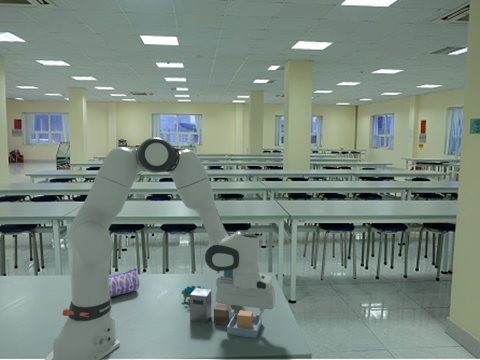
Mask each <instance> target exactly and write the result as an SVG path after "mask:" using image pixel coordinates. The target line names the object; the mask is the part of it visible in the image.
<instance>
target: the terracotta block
mask: <svg viewBox="0 0 480 360" xmlns="http://www.w3.org/2000/svg"><path fill="white" fill-rule="evenodd" d="M237 314H238V315H237V327H239V328H247V329H251V328H252V325H253V316H254V311H249V310H241V309H240V310H239V311H238V313H237Z"/></svg>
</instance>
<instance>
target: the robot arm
mask: <svg viewBox="0 0 480 360" xmlns="http://www.w3.org/2000/svg"><path fill="white" fill-rule="evenodd" d="M142 172H147V173H149V174H159V173H168V174H169V176H170V178H171V179H172V181H173V183H174V186H175V188H176V191H177V194H178V196H179V198H180V199H181V201H182V203H183V204H184V206H185V207H186V208H188V209H189V210H192V211H194V212H196V213H197V214H198V216H199V217H200V219H201V221H202V222H201V223H202V224H203V227H204V228H205V231H206V234H207V235H208V246H207V249H206V251H205V254H204V260H205V261H204V262H205V263H206V265H207V266H208V268H209V269H210V270H213V271H214V272H224V271H226V270H232V269H233V277H225V276H224V275H220V276H219V277H217V278H216V281H215V285H216V287H217V289H216V293H215V294H216V295H215V301H216V303H217V304H225V305H226V308H227V309H228V311H229V317H231V318H232V317H234V313H235V310H234V309H232V306H239V307H247V308H248V307H249V308H255V309H259V312H257V313H256V315H255V316H256V320H261V317H262V315H263V313H264V311H265V309H266V310H273V309H274V308H275V306H276V292H275V291H276V290H275V287H274V285H273V278H272V276H269V275H267V274H265V273H262V272H260V267H259V261H260V254H261V253H260V240H259V238H258V236H257V235H256V234H255V233H254V232H251V231H249V230H237V231H236V232H235V233H233V234H231V233H230V232H228V231H227V229H226V227H225V226H224V224H223V221H222V219H221V216H220V214H219V211H218V209H217V206H216V202H215V198H214V193H213V188H212V185H211V184H212V183H211V182H210V177H209V176H208V173H207V170H206V169H205V166H204V164H203V162H202V161H201V159H200V157H199V156H198V155H197V153H196V151H194V150H191V149H181V150H178V149H176V147H174V146H173V145H172V144H170V142H168V141H167V140H166V139H164V138H161V137H149V138H147V139H145V140H144V141H143V142H141V143H140V145H138V147H137V148H135V149H130V148H128V147H124V146H117V147H114V148H112V149H111V150H110V152H109V153H108V154H107V156H106V157H105V159H104V160H103V162H102V164H101V166H100V167H99V169H98V172H97V174H96V175H95V178H94V181H93V183H92V184H91V188H90V189H89V192H88V194H87V197H86V198H85V200H84V202H83V203H82V205H81V207H80V208H79V210H78V212H77V214H76V215H75V217H74V218H73V220H72V222H71V224H70V225H69V228H68V230H67V235H66V238H67V242H68V244H69V246H70V249H71V253H72V267H71V276H70V282H71V283H70V284H71V301H70V305H69V309H68V308H64V309H63V311H62V316H64V317H67V319H66V320H65V322H64V324H63V325H62V327H61V329H60V330H59V332H58V333H57V335H56V337H55V338H54V340H53V341H54V342H53V346H52V347H53V348H52V350H51V351H50V353H48V355H47V356H46V357H45V358H44V360H102V359H103V358H105V356H107V355H108V354H110V353H111V352H113V351H114V350H116V349H117V348H119V347H120V345H121V342H120V340H119V339H118V338H117V337H118V336H117V331H116V330H117V329H116V323H115V317H113V314H112V311H111V309H112V297H110V295H109V276H110V269H111V260H112V253H113V248H114V247H113V239H112V236H111V234H110V233H109V232H108V230H109V229H110V227H111V225H112V224H113V222H114V221H115V219H116V217H118V215H119V214H120V213H121V212H122V210H123V208H124V206H125V203H126V201H127V199H128V196H129V194H130V192H131V189H132V186H133V184H134V183H135V180H136V178H137V176H138V175H139V174H140V173H142Z"/></svg>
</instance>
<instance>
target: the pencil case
mask: <svg viewBox="0 0 480 360" xmlns="http://www.w3.org/2000/svg"><path fill="white" fill-rule="evenodd" d="M139 288H140V279H139V276H138V273H137V268H136V267H134V268H133V269H132V268H130V269H129V270H126V271H124V272H120V273H117V274H113V275H109V295H110V297H111V298H112V297H113V298H114V297H116V296H120V295H125V294H129V293H131V292H135V291H138V289H139Z"/></svg>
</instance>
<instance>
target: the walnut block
mask: <svg viewBox="0 0 480 360" xmlns="http://www.w3.org/2000/svg"><path fill="white" fill-rule="evenodd" d="M229 319H230V316H229V311H228V309H227V308H226V304H221V303H217V304H216V305H215V306H214V308H213V323H217V324H224V325H226V324H227V323H228V321H229Z"/></svg>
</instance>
